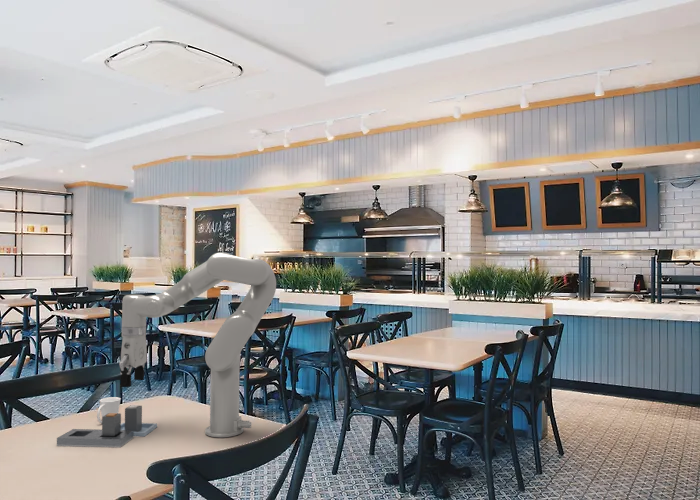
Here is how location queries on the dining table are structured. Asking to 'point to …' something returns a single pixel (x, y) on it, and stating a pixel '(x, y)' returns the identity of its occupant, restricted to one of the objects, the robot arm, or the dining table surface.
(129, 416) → the plug
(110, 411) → the cup
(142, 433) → the tray
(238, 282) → the robot arm
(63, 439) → the grey socket
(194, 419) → the dining table surface
